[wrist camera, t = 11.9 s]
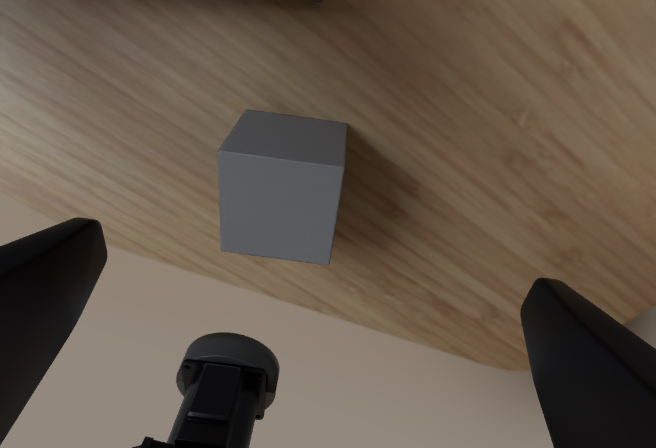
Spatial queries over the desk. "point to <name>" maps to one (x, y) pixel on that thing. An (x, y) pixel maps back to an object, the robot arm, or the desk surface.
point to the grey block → (281, 186)
